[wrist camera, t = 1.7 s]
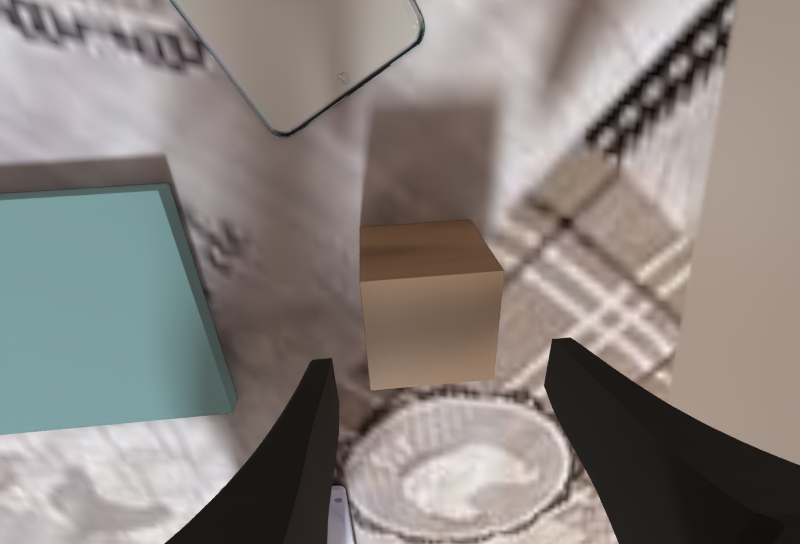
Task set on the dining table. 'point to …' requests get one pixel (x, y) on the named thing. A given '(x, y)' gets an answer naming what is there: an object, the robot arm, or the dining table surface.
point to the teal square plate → (103, 312)
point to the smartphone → (302, 49)
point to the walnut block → (429, 304)
